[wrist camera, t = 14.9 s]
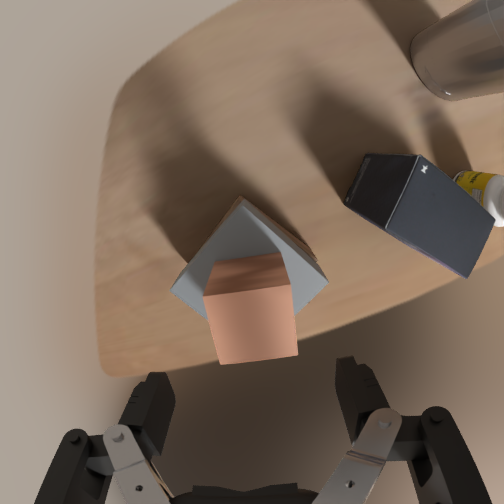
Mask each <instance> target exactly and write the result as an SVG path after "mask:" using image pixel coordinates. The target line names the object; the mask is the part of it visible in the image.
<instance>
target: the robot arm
mask: <svg viewBox="0 0 504 504" xmlns="http://www.w3.org/2000/svg"><path fill="white" fill-rule="evenodd" d="M410 51H411V59H412V62H413V65H414V68H415V70H416V72H417V74H418V76H419V77H420V79H421V80H422V82H423V83H424V84H425V85H426V87H427V88H429V89H430V90H431V91H432V92H433V93H434V94H436V95H437V96H438V97H440V98H443V99H445V100H449V101H458V100H462V99H468V98H473V97H479V96H484V95H490V94H496V93H502V92H504V0H472V1H471V2H469V3H467V4H465V5H464V6H462V7H460V8H459V9H457V10H455V11H454V12H452V13H450V14H449V15H447V16H445V17H444V18H442V19H441V20H439V21H437V22H436V23H434V24H432V25H431V26H429V27H428V28H426V29H425V30H423V31H422V32H420V33H419V34H417V35H416V36H415V37H414V38H413V41H412V43H411V49H410ZM335 389H336V394H337V397H338V400H339V404H340V407H341V410H342V414H343V417H344V420H345V423H346V427H347V430H348V434H349V437H350V441H351V444H352V445H354V446H353V447H352V449H351V450H350V452H349V451H348V452H347V453H346V454H345V456H344V457H343V459H342V460H341V462H340V464H339V465H338V467H337V468H336V470H335V471H334V473H333V475H332V476H331V477H330V479H329V480H328V482H327V483H326V485H325V486H324V488H323V489H322V490H321V492H320V493H317V492H314V491H311V490H306V489H298V487H297V483H290V484H280V485H270V486H266V487H263V488H259V489H255V490H251V491H246V492H240V491H236V490H231V489H226V488H221V487H214V486H193V490H192V492H187V493H184V494H181V495H178V496H176V497H174V496H173V495H172V493H171V492H170V491H169V489H168V488H167V486H166V485H165V483H164V481H163V480H162V478H161V477H160V475H159V473H158V472H157V470H156V468H155V467H154V465H153V463H152V462H151V459H152V455H155V456H161V453H162V450H163V447H164V443H165V439H166V436H167V432H168V429H169V425H170V422H171V418H172V415H173V411H174V408H175V402H176V401H175V394H174V392H173V389H172V386H171V384H170V381H169V379H168V376H167V374H166V373H165V372H150V373H149V374H148V376H147V379H146V381H145V382H140V383H139V384H138V385H137V386H136V387H135V388H134V390H133V392H132V394H131V397H130V399H129V401H128V403H127V405H126V407H125V410H124V412H123V414H122V416H121V419H120V420H119V423H118V425H114V426H111V427H109V428H108V429H107V430H106V431H105V432H104V434H103V435H95V436H88V435H87V433H86V432H85V431H84V430H82V429H73V430H70V431H68V432H67V433H66V434H65V435H64V437H63V439H62V441H61V443H60V445H59V448H58V450H57V452H56V454H55V456H54V458H53V460H52V463H51V465H50V467H49V469H48V472H47V474H46V476H45V479H44V481H43V483H42V486H41V488H40V491H39V493H38V495H37V498H36V500H35V503H34V504H105V500H106V496H107V492H108V489H109V486H110V482H111V479H112V476H113V475H114V477H115V480H116V482H117V484H118V486H119V489H120V491H121V493H122V495H123V497H124V499H125V501H126V504H364V503H365V501H366V500H367V498H368V496H369V494H370V492H371V490H372V488H373V486H374V485H375V483H376V481H377V479H378V477H379V475H380V473H381V471H382V469H383V467H384V465H385V463H386V461H407V464H408V467H409V470H410V473H411V477H412V480H413V483H414V487H415V490H416V493H417V497H418V500H419V504H492V502H491V500H490V497H489V495H488V492H487V490H486V487H485V485H484V482H483V481H482V478H481V475H480V473H479V471H478V469H477V466H476V464H475V462H474V460H473V458H472V456H471V453H470V451H469V449H468V447H467V445H466V443H465V441H464V439H463V437H462V435H461V433H460V431H459V429H458V427H457V425H456V423H455V421H454V419H453V418H452V416H451V414H450V412H449V411H448V410H447V409H445V408H443V407H439V406H435V407H430V408H428V409H426V410H425V411H424V412H423V413H422V415H421V416H402V415H400V414H399V413H398V412H397V411H395V410H394V409H391V408H390V406H389V404H388V402H387V400H386V397H385V395H384V393H383V391H382V389H381V387H380V385H379V383H378V381H377V379H376V378H375V375H374V373H373V371H372V369H370V368H369V367H368V366H367V365H365V364H360V365H357V364H356V362H355V360H354V357H353V356H352V355H351V356H345V357H340V358H337V359H336V372H335Z"/></svg>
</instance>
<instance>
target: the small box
mask: <svg viewBox="0 0 504 504" xmlns="http://www.w3.org/2000/svg"><path fill="white" fill-rule="evenodd" d="M344 205H345V206H346V207H348V208H349V209H351V210H352V211H354V212H355V213H357V214H358V215H360V216H361V217H363V218H364V219H366V220H367V221H369V222H371V223H372V224H374V225H375V226H377V227H379V228H380V229H382V230H383V231H385V232H387V233H388V234H390V235H392V236H393V237H395V238H396V239H398V240H399V241H401V242H403V243H404V244H406V245H407V246H409V247H411V248H412V249H414V250H416V251H418V252H419V253H421V254H423V255H425V256H426V257H428V258H430V259H432V260H433V261H435V262H437V263H439V264H440V265H442V266H444V267H445V268H447V269H449V270H451V271H453V272H454V273H456V274H458V275H460V276H462V277H464V278H465V279H467V278H468V277H469V275H470V273H471V272H472V270H473V268H474V266H475V264H476V262H477V260H478V258H479V256H480V254H481V252H482V250H483V248H484V245H485V243H486V241H487V239H488V237H489V234H490V232H491V230H492V228H493V225H494V223H495V221H496V219H495V218H494V217H493V216H492V215H491V214H490V213H489V212H488V211H487V210H486V209H485V208H484V207H483V206H482V205H481V204H479V202H477V201H476V200H475V199H474V198H473V197H472V196H471V195H470V194H469V193H468V192H467V191H465V190H464V189H463V188H462V187H461V186H459V185H458V184H457V183H456V182H455V181H453V180H452V179H451V178H450V177H449V176H448V175H446V174H445V173H444V172H443V171H441V170H440V169H439V168H438V167H436V166H435V165H434V164H433V163H431V162H430V161H428V160H427V159H426V158H424V157H423V156H422V155H413V154H378V153H377V154H376V153H367V154H365V156H364V159H363V163H362V164H361V167H360V169H359V171H358V173H357V176H356V178H355V180H354V182H353V184H352V186H351V187H350V189H349V191H348V194H347V196H346V199H345V201H344Z"/></svg>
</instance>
